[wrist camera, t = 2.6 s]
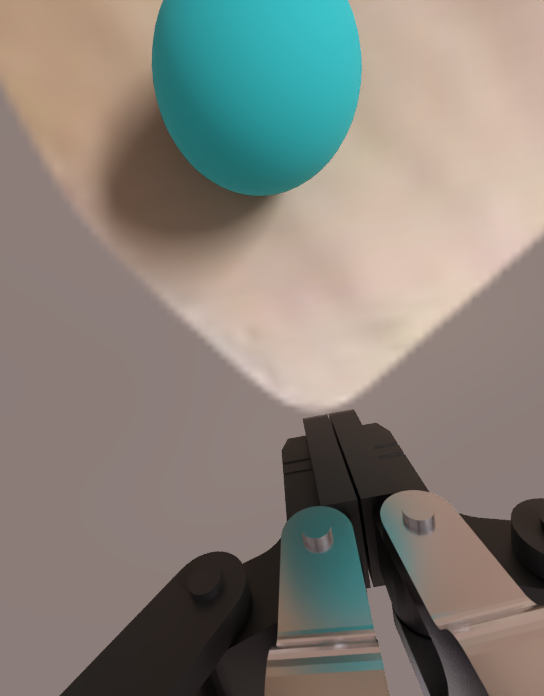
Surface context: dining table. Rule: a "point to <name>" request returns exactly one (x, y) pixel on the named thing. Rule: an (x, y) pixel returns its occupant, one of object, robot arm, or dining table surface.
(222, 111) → the ball
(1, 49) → the dining table surface
